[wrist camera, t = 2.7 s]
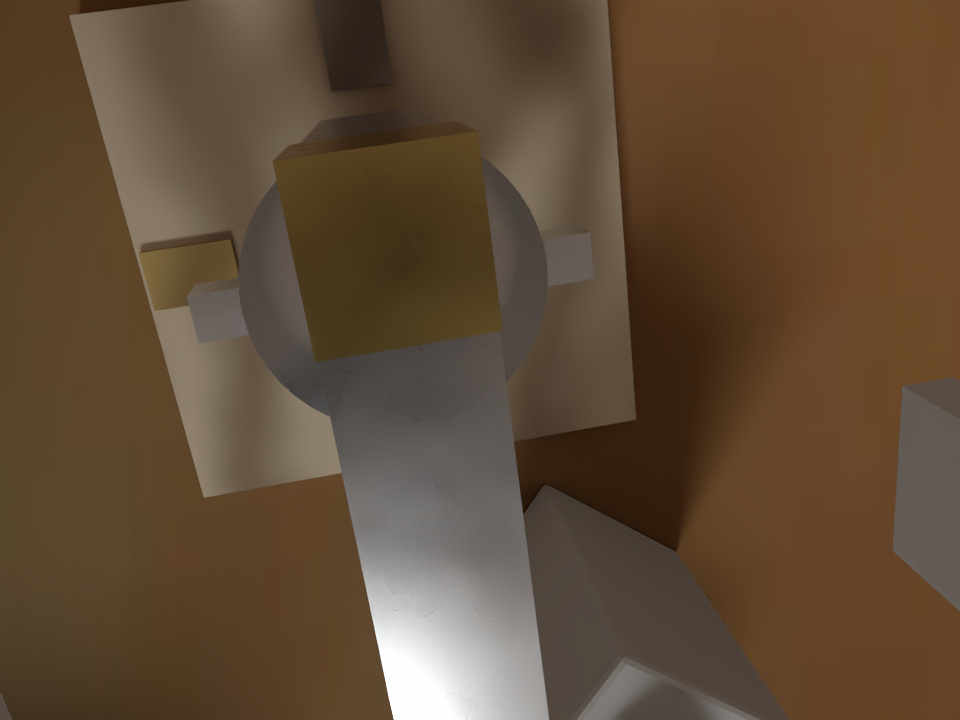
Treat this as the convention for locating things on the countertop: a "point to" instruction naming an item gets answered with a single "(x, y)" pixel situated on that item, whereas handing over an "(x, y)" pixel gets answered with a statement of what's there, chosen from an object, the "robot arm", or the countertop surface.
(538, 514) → the soap bottle
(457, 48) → the board
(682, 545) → the countertop surface
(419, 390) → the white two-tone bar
